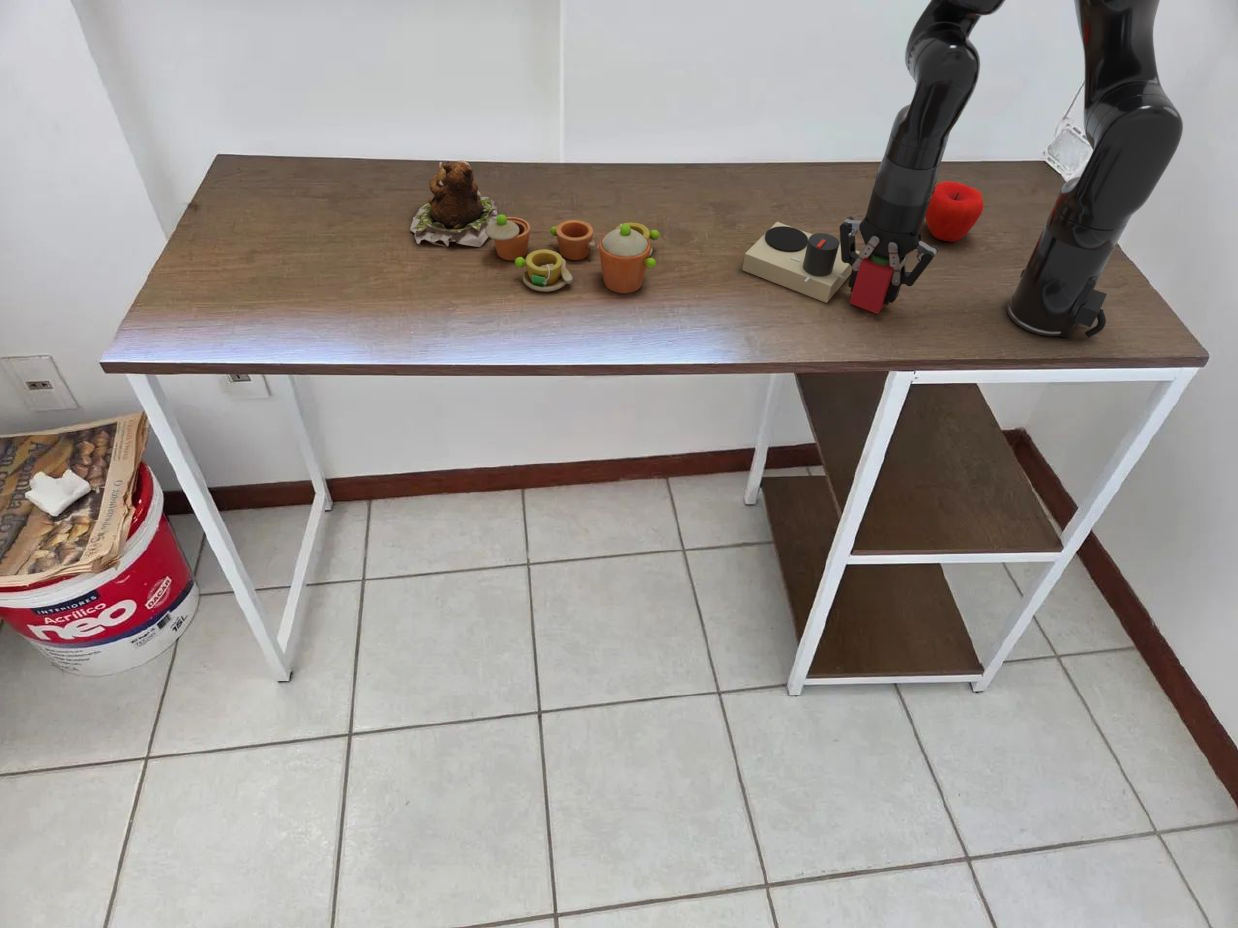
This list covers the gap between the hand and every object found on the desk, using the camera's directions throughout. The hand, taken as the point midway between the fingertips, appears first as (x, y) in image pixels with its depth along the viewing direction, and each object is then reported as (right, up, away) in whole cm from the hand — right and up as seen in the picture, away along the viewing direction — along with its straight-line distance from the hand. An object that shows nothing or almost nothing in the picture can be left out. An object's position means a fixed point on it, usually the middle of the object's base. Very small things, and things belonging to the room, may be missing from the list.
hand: (871, 295), depth 127 cm
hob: (-9, +5, +6) cm, 12 cm away
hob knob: (-8, +4, +2) cm, 9 cm away
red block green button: (0, -1, +1) cm, 1 cm away
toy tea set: (-44, +5, +5) cm, 44 cm away
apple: (+16, +13, +15) cm, 25 cm away
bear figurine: (-63, +14, +12) cm, 65 cm away
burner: (-11, +10, +6) cm, 16 cm away
